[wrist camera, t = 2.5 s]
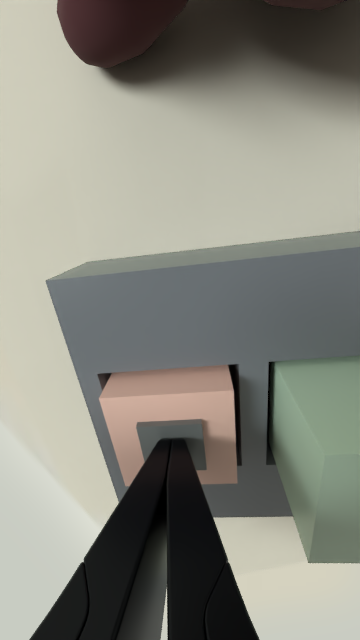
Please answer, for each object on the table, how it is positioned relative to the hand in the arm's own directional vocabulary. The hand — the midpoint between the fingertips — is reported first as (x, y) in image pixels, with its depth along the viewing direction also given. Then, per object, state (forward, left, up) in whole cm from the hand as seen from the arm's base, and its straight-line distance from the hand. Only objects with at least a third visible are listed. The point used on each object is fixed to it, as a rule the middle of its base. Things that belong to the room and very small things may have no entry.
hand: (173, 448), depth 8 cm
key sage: (-5, 0, -2) cm, 6 cm away
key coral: (0, 0, -4) cm, 4 cm away
